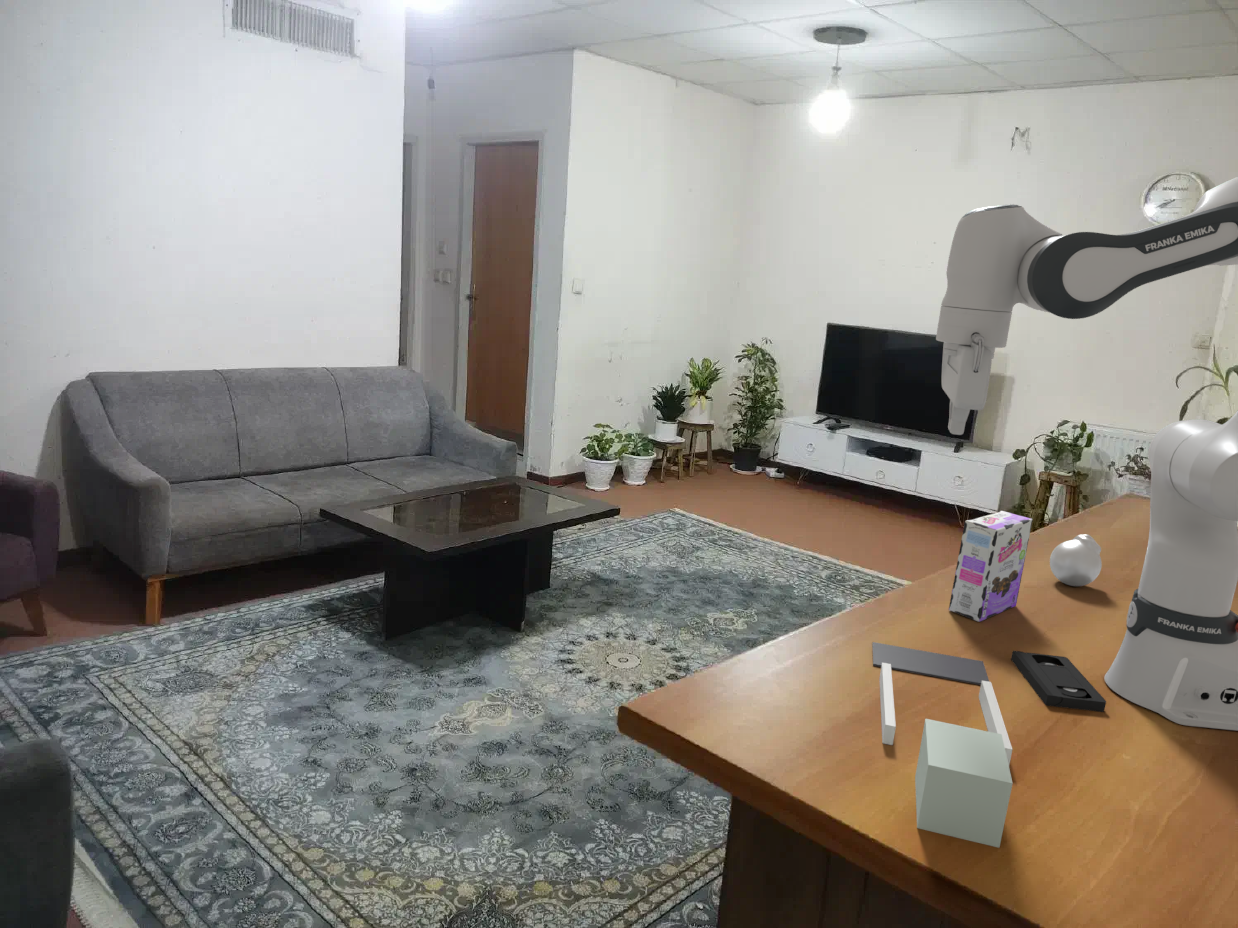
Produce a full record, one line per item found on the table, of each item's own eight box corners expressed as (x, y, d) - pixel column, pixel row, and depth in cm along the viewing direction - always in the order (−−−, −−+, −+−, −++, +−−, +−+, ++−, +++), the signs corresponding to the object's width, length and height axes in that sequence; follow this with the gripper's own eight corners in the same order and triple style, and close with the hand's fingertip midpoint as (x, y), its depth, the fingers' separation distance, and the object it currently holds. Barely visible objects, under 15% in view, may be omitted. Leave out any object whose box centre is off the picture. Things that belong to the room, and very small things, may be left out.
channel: (982, 662, 133) (985, 647, 132) (1015, 769, 105) (1019, 750, 104) (872, 643, 137) (874, 628, 136) (875, 741, 108) (878, 723, 108)
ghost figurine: (1108, 595, 167) (1119, 544, 165) (1058, 591, 167) (1068, 540, 165) (1085, 578, 176) (1095, 529, 173) (1037, 574, 176) (1047, 525, 173)
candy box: (979, 623, 148) (997, 529, 144) (946, 611, 153) (963, 519, 149) (1017, 606, 157) (1034, 517, 154) (985, 595, 162) (1001, 508, 158)
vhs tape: (1104, 715, 121) (1107, 702, 120) (1044, 708, 121) (1047, 695, 121) (1063, 668, 135) (1066, 656, 134) (1010, 662, 135) (1012, 650, 135)
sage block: (989, 794, 99) (1001, 734, 98) (999, 848, 90) (1012, 783, 88) (915, 777, 102) (925, 718, 100) (916, 828, 92) (928, 764, 91)
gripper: (1010, 339, 108) (990, 450, 111) (987, 328, 127) (970, 423, 130) (955, 333, 109) (937, 443, 112) (940, 324, 128) (925, 418, 132)
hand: (955, 432), depth 121 cm, fingers closed
